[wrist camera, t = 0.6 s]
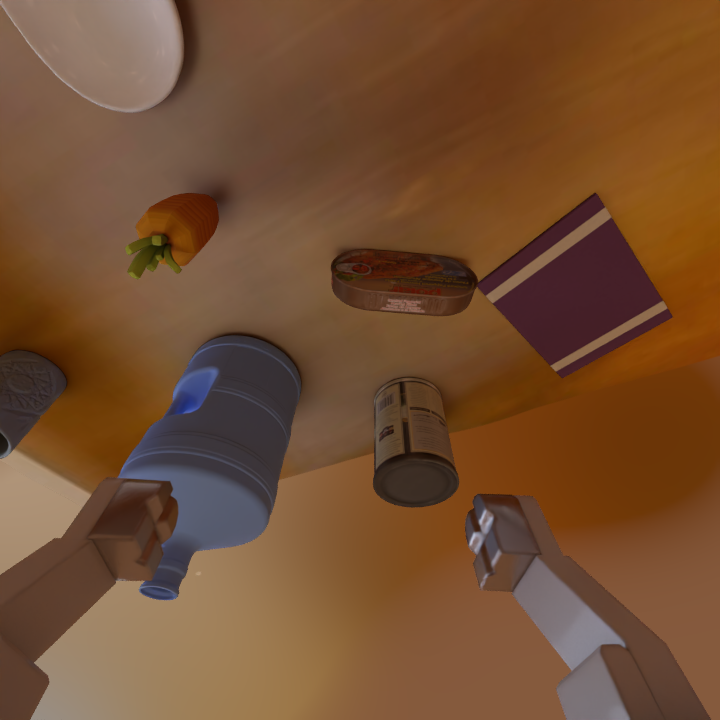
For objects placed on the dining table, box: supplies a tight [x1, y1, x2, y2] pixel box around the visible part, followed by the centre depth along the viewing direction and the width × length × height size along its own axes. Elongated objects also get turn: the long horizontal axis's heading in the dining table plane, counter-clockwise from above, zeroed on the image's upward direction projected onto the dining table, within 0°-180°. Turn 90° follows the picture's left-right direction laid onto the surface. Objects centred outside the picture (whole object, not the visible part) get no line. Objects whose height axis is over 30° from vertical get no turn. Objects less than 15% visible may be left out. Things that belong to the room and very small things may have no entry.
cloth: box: [477, 193, 673, 378], centre depth 43 cm, size 14×20×1 cm
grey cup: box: [0, 350, 67, 459], centre depth 49 cm, size 10×10×12 cm
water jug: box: [118, 335, 301, 600], centre depth 42 cm, size 16×16×28 cm
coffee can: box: [373, 378, 459, 507], centre depth 49 cm, size 10×10×14 cm
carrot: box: [125, 193, 219, 279], centre depth 32 cm, size 5×5×15 cm
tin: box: [331, 249, 478, 316], centre depth 38 cm, size 15×3×8 cm, turn 85°
